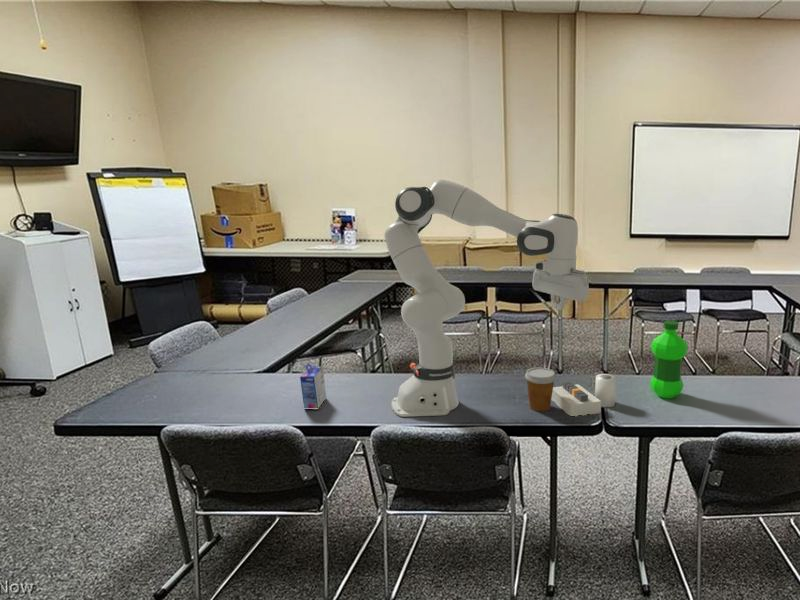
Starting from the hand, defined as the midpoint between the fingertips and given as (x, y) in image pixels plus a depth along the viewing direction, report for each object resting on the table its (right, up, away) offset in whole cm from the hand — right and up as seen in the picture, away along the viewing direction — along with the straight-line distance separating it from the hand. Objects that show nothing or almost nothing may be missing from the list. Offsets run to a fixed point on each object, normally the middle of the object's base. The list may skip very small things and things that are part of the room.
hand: (558, 309), depth 165 cm
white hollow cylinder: (+16, -31, +2) cm, 34 cm away
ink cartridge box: (-80, -33, +13) cm, 87 cm away
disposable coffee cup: (-5, -32, +2) cm, 32 cm away
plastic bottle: (+37, -29, +6) cm, 48 cm away
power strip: (+5, -30, +6) cm, 31 cm away
